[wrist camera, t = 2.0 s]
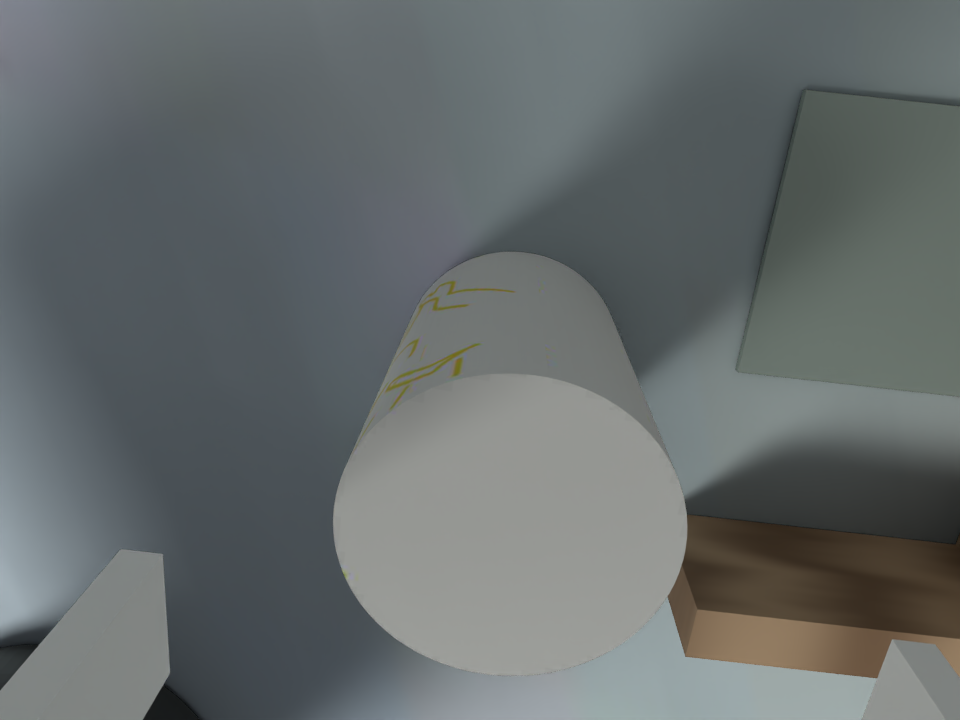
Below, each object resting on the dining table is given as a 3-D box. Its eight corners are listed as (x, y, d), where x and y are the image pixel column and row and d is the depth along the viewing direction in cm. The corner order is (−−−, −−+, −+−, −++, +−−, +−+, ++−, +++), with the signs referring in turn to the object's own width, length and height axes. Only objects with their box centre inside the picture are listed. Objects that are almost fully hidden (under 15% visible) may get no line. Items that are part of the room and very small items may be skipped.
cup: (457, 214, 26) (415, 311, 15) (657, 308, 27) (757, 466, 16) (373, 401, 29) (284, 600, 18) (557, 481, 30) (583, 719, 19)
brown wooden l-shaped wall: (654, 552, 31) (685, 656, 25) (769, 35, 24) (846, 21, 18) (987, 590, 31) (1091, 702, 25) (1200, 82, 24) (1412, 82, 18)
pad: (735, 369, 28) (737, 372, 28) (803, 89, 24) (806, 89, 24) (998, 398, 28) (1003, 401, 28) (1105, 122, 24) (1112, 123, 24)
